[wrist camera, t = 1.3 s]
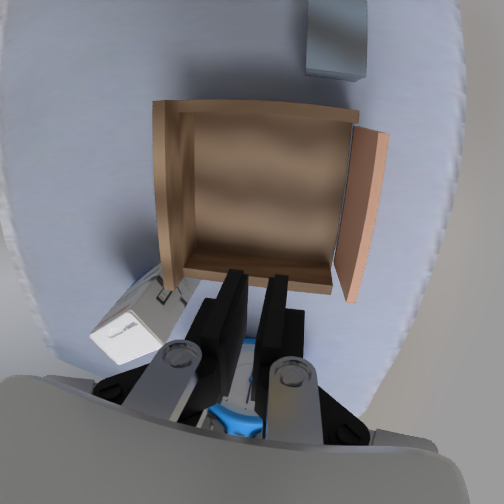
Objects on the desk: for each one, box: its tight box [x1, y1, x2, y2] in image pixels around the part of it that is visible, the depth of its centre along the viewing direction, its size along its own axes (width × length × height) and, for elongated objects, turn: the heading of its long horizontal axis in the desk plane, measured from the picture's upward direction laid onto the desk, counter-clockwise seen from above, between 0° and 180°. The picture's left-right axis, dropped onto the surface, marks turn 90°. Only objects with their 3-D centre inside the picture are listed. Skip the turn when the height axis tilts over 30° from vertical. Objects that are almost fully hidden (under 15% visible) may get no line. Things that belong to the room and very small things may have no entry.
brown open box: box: [153, 99, 359, 295], centre depth 25 cm, size 16×15×8 cm
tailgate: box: [334, 126, 389, 303], centre depth 23 cm, size 13×1×7 cm, turn 177°
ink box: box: [89, 263, 200, 365], centre depth 31 cm, size 9×5×12 cm, turn 126°
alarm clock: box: [201, 338, 262, 439], centre depth 33 cm, size 13×6×15 cm, turn 82°
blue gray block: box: [306, 0, 367, 82], centre depth 19 cm, size 7×5×5 cm, turn 177°
